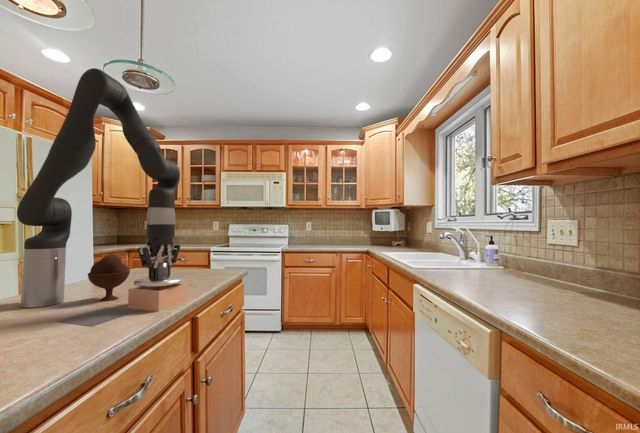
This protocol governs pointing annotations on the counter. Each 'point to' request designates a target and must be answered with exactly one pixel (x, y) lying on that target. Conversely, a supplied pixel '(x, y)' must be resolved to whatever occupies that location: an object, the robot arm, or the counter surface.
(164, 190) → the robot arm
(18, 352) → the counter surface
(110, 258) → the ice cream bowl
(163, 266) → the lid
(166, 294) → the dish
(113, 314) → the mat
